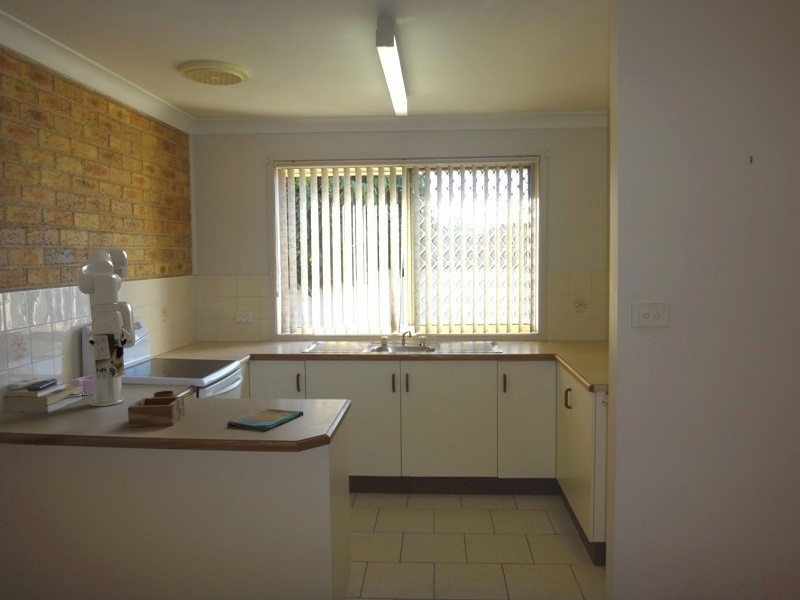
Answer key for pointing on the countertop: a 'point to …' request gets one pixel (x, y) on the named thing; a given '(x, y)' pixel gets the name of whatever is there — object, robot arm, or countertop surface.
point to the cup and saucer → (164, 394)
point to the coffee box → (107, 358)
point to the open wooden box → (156, 411)
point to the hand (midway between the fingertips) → (109, 357)
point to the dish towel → (265, 419)
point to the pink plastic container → (88, 384)
